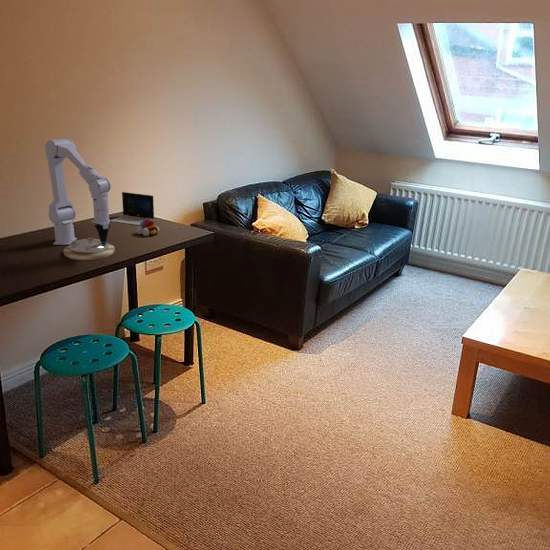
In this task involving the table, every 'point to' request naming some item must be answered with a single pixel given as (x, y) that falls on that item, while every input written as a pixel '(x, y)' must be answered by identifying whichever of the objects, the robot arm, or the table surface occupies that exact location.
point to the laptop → (136, 208)
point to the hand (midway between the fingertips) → (103, 241)
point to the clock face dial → (88, 246)
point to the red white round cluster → (147, 228)
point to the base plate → (95, 256)
